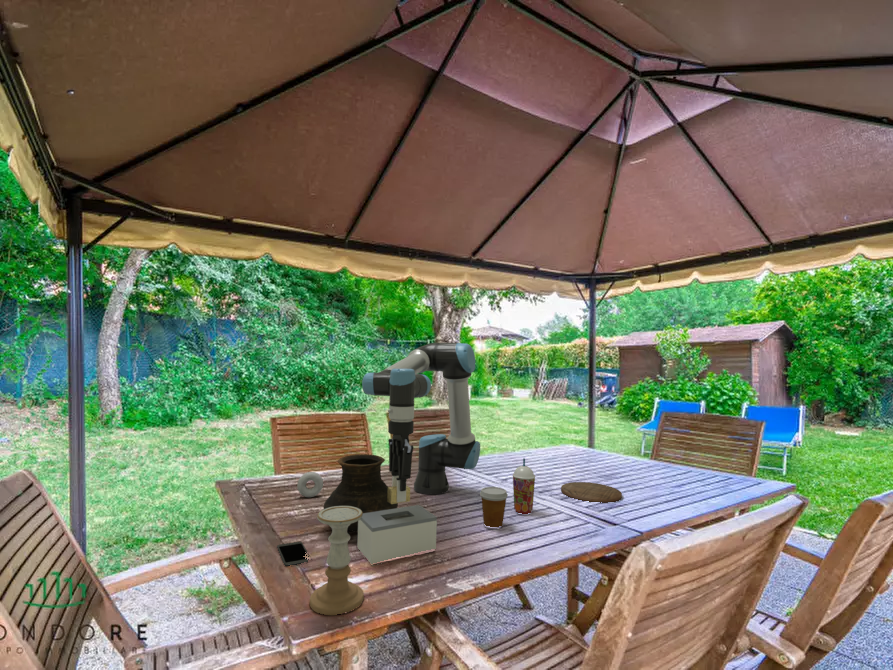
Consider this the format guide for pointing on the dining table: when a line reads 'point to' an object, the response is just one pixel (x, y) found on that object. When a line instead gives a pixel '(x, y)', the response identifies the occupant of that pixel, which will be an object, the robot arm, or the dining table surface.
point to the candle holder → (338, 565)
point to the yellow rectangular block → (393, 495)
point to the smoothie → (523, 489)
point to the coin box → (396, 533)
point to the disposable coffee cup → (493, 505)
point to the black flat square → (292, 553)
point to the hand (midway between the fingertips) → (398, 499)
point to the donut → (305, 478)
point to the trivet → (591, 492)
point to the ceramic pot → (361, 486)
